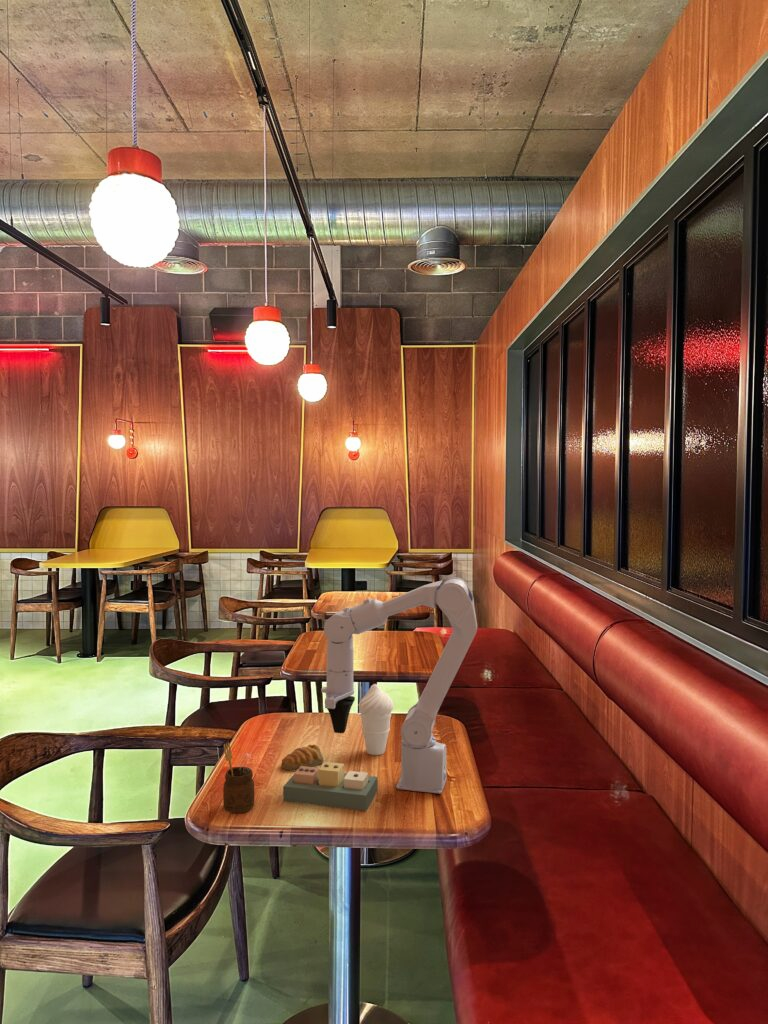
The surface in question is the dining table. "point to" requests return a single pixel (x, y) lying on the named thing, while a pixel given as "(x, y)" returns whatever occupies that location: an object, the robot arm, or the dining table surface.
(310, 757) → the pastry
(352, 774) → the toy block
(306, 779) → the toy block
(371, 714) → the soft serve ice cream cone
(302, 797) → the toy block sorting board
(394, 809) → the dining table surface
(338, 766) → the toy block
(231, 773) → the utensil holder
